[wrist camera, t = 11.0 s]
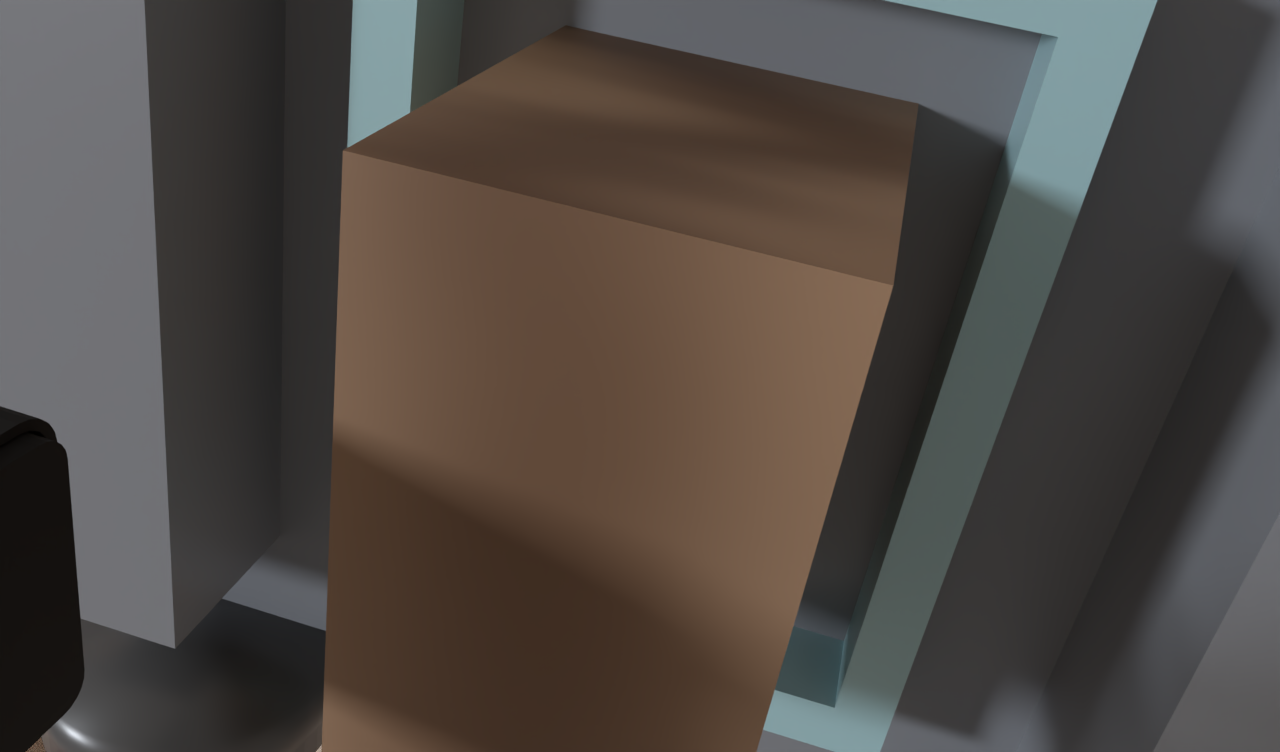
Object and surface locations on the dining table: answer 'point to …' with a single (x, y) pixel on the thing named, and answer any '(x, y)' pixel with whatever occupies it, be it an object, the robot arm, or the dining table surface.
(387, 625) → the brown cardboard carton
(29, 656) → the robot arm
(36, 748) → the dining table surface
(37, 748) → the dining table surface
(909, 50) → the chassis
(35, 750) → the dining table surface
